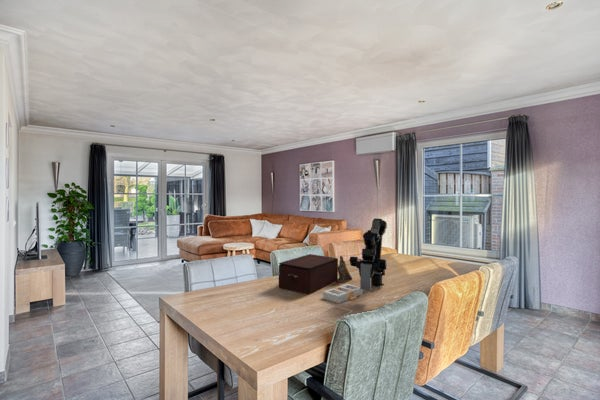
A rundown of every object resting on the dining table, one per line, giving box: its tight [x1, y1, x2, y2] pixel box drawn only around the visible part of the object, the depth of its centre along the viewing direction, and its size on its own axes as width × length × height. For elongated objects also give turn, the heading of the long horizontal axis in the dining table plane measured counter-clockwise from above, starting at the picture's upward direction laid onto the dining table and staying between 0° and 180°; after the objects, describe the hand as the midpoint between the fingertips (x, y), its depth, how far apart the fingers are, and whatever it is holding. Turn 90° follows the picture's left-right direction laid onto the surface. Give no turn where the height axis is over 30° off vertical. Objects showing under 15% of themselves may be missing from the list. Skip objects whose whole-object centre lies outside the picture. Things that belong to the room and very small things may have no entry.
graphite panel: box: [359, 263, 372, 291], centre depth 166 cm, size 3×5×13 cm, turn 67°
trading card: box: [313, 305, 353, 324], centre depth 149 cm, size 11×1×18 cm
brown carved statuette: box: [335, 255, 353, 284], centre depth 204 cm, size 12×6×18 cm, turn 131°
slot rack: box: [322, 283, 364, 304], centre depth 174 cm, size 22×12×4 cm, turn 135°
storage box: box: [278, 253, 339, 295], centre depth 196 cm, size 39×23×15 cm, turn 147°
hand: (365, 276), depth 165 cm, fingers closed on graphite panel, 5 cm apart
